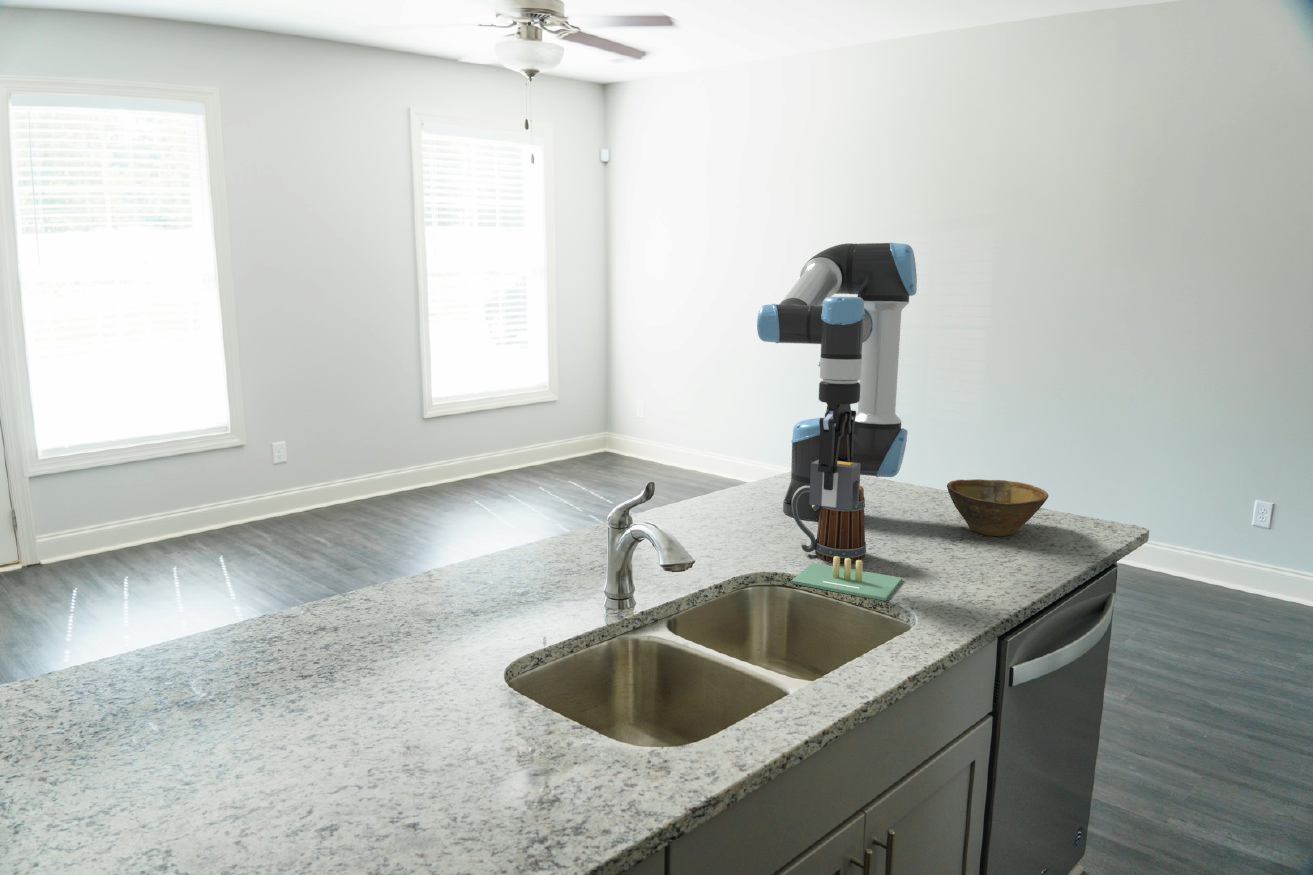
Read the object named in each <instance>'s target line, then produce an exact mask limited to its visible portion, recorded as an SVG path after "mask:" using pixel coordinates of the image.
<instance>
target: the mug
mask: <svg viewBox="0 0 1313 875" xmlns="http://www.w3.org/2000/svg"><path fill="white" fill-rule="evenodd" d="M805 492H810V486H802V487H800V488H799V489H798V490H796V492H795V493H794V495H793V498H792V512H793V516H794V517H793V519H794V522H795V523H796V525H797V526H798V528H799V529H800V530H801V531H802V532H803V533H804V535H806V536H807V537H808V538H809V540H810V544H809V545H807V542H800V546H801V548H802V551H804V552H805V553H812V552H813V551H814V554H815V555H816V556H817V557H818V558H820V559H821V560H822V561H825V562H829V561H831V562H830V563H833V559H834V557H835V556H838V557H840V564H845V558H850V559H851V564H853V563H854V562H855V563H856V560H861V561H863V559H864V558H866V553H867V543H866V534H865V530H866V528H865V527H866V525H865V523H866V522H865V508H866V503H865V502H866V500H865V499H866V498H865V496H864V494H865V493H864V487H863V486H862V485H860V488H859V505H857V506H855V505H852V509H851V510H845V509H838V508H831V507H824V506H817V505H812V508H813V509H814V510H815V511H816V510H817V509H818V508H819V507H820V514H819V520H818V524H817V530H816V531H817V532H816V534H817V535H816V537H815V535H814V533H813V532H812V531H811V530H810V529H809V528H808V527H807V526H806V525H805V524H804V523H803V521H802V519H800V518H799V516H798V511H797V501H798V499H799V497H800V495H801V494H803V493H805Z"/></svg>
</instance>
